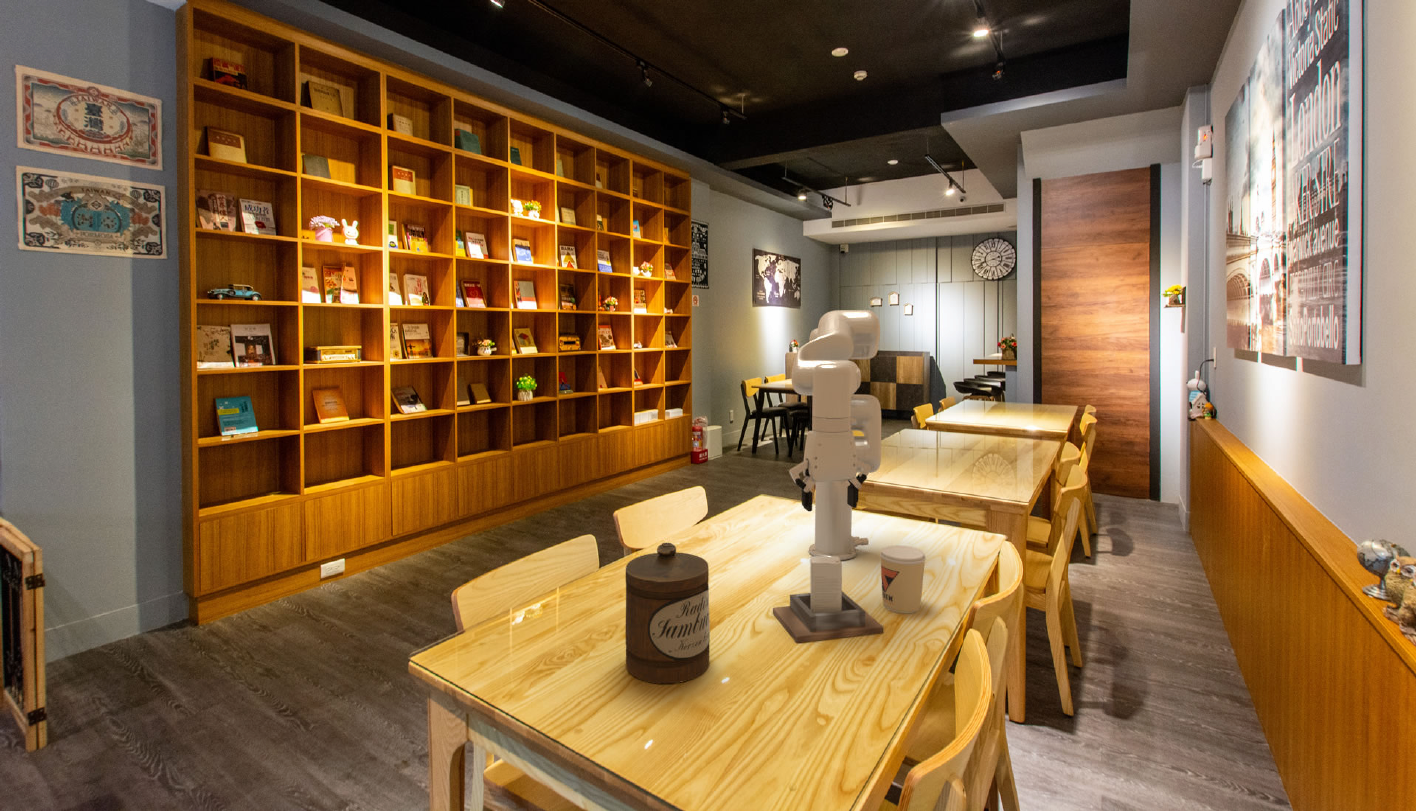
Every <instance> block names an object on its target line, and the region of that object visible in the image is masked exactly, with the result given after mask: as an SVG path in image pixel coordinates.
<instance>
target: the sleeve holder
mask: <svg viewBox="0 0 1416 811" xmlns="http://www.w3.org/2000/svg"><path fill="white" fill-rule="evenodd" d="M810 606H811V592H806V593H805V592H804V593H795V594H789V605H787V606H778V607H773V608H772V614H773V616H774V617H775V618H776V619H777V621H778V622H779V623H780V624H781V626H783V628H784V629H785V630H786V632H787V633H788V634H789V635H790V637H791V638H792V639H793V641H794V642H795V643H796V644H798V643H806V642H807V643H808V642H816V641H824V640H825V641H826V640H831V639H832V640H833V639H840V638H842V639H843V638H849V637H850V638H851V637H860V636H859V635H861V636H867V635H869V636H870V635H876V633H878V634H884V630H885V629H884V628H885V627H884V626H883V625H882V624H881V623H880V622H879V621H877V620H876V618H874V617H873V616H872V615H871V614H870V613H868V612H867V611H866V610H865V609H863V608H862V607H861V605H859V604H858V603H857V602H855V601H854V600H853V599H852V598H851V597H850V596H849V595H847V594H846V593H845V592H844V591H843V590H842V611H837V612H828V613H818V614H814V613H813V612H812V611H811V609H810Z"/></svg>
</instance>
